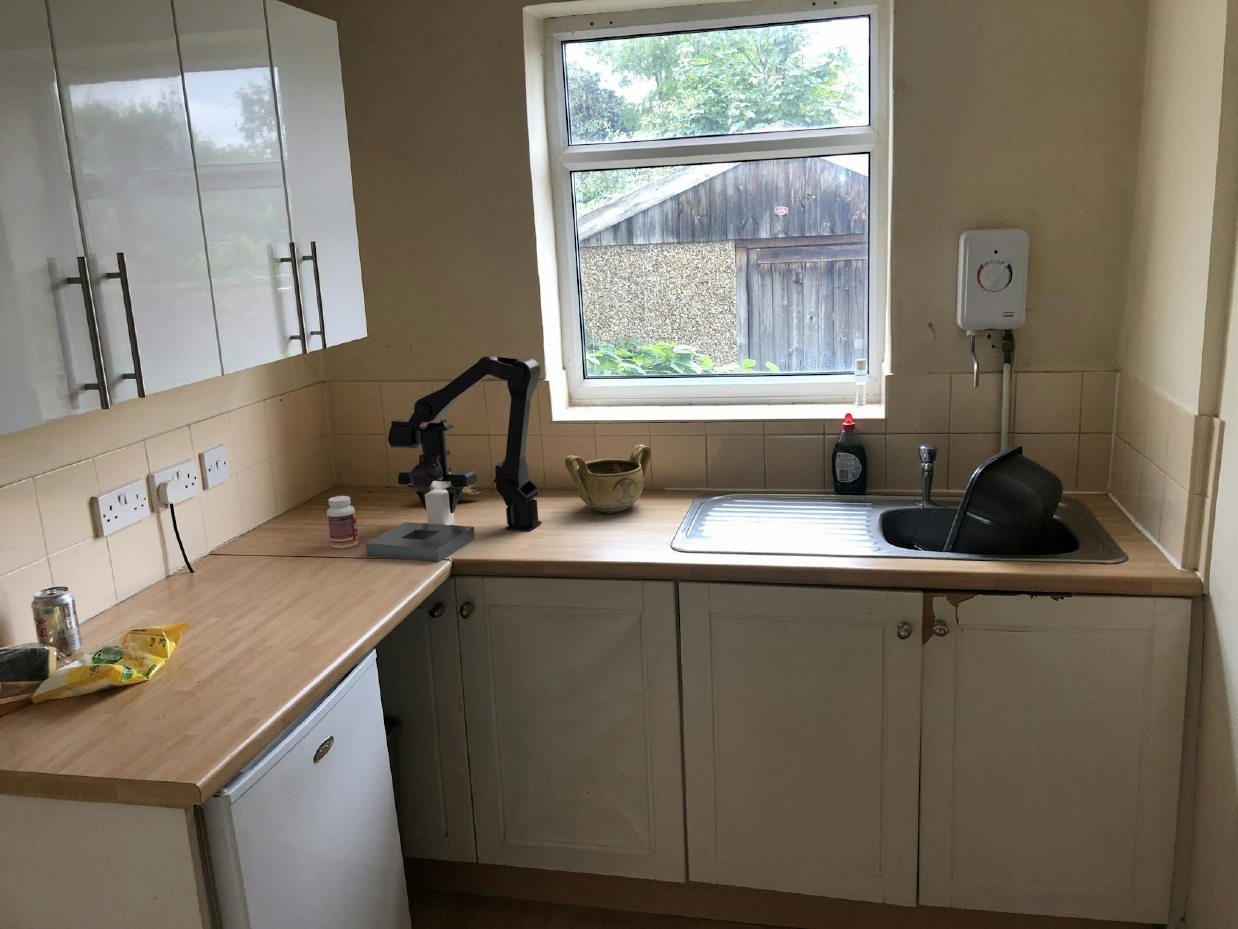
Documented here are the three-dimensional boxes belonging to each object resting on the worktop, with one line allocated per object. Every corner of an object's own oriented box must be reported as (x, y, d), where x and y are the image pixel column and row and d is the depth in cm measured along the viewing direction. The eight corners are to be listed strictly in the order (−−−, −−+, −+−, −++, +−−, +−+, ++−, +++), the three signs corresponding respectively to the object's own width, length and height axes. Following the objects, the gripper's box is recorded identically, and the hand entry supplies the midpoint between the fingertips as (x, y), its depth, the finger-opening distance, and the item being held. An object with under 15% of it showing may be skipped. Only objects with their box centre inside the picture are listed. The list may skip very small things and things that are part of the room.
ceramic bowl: (587, 525, 231) (583, 462, 228) (554, 509, 246) (550, 450, 242) (667, 508, 242) (665, 448, 239) (632, 494, 257) (629, 437, 253)
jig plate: (475, 539, 225) (473, 526, 225) (438, 562, 211) (437, 548, 210) (406, 534, 232) (405, 522, 231) (366, 556, 217) (365, 543, 216)
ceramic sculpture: (416, 467, 260) (472, 463, 265) (417, 499, 261) (473, 494, 267) (425, 476, 250) (483, 471, 256) (426, 509, 252) (484, 504, 258)
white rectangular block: (454, 522, 240) (451, 490, 238) (444, 527, 236) (441, 495, 234) (437, 521, 241) (434, 489, 239) (427, 526, 237) (424, 494, 235)
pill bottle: (362, 545, 225) (357, 498, 223) (335, 551, 222) (330, 503, 219) (353, 539, 230) (348, 493, 228) (327, 544, 227) (321, 498, 224)
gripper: (380, 455, 230) (387, 519, 234) (451, 457, 224) (457, 524, 227) (407, 444, 240) (413, 506, 244) (475, 446, 234) (480, 510, 237)
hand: (440, 512), depth 238 cm, fingers open, 6 cm apart
